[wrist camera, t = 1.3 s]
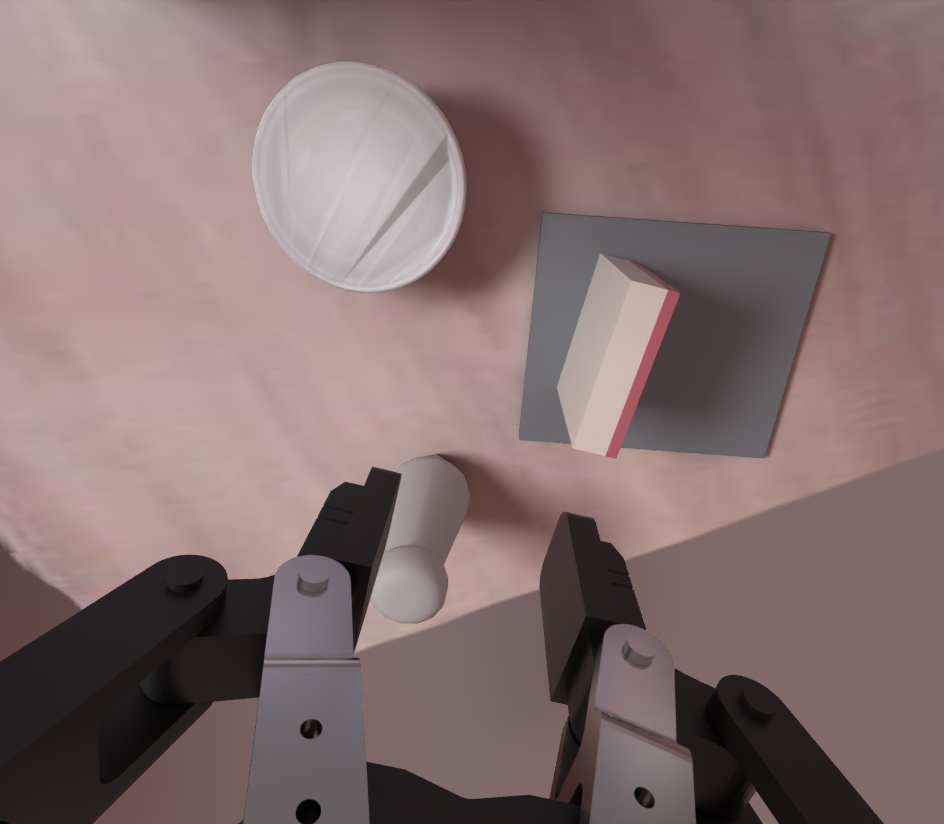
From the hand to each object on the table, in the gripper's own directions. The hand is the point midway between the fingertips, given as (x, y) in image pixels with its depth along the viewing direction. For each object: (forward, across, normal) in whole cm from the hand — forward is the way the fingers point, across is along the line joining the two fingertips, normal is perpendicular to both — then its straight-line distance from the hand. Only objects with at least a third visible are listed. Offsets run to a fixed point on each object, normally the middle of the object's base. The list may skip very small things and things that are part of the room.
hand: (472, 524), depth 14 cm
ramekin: (+26, +8, -5) cm, 27 cm away
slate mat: (+25, -12, 0) cm, 28 cm away
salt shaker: (+25, +1, +14) cm, 29 cm away
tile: (+25, -7, 0) cm, 26 cm away
